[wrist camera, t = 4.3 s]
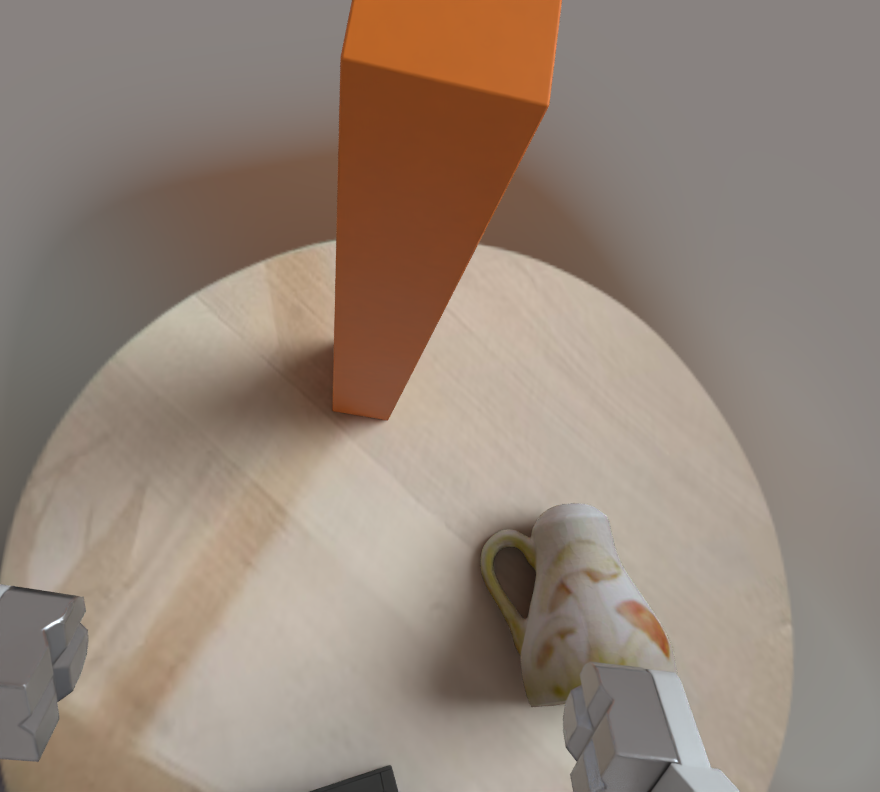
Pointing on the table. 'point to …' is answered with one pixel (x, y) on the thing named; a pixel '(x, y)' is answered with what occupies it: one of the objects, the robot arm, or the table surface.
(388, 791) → the bin
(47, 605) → the robot arm
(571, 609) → the mug
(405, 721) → the table surface
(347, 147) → the block
